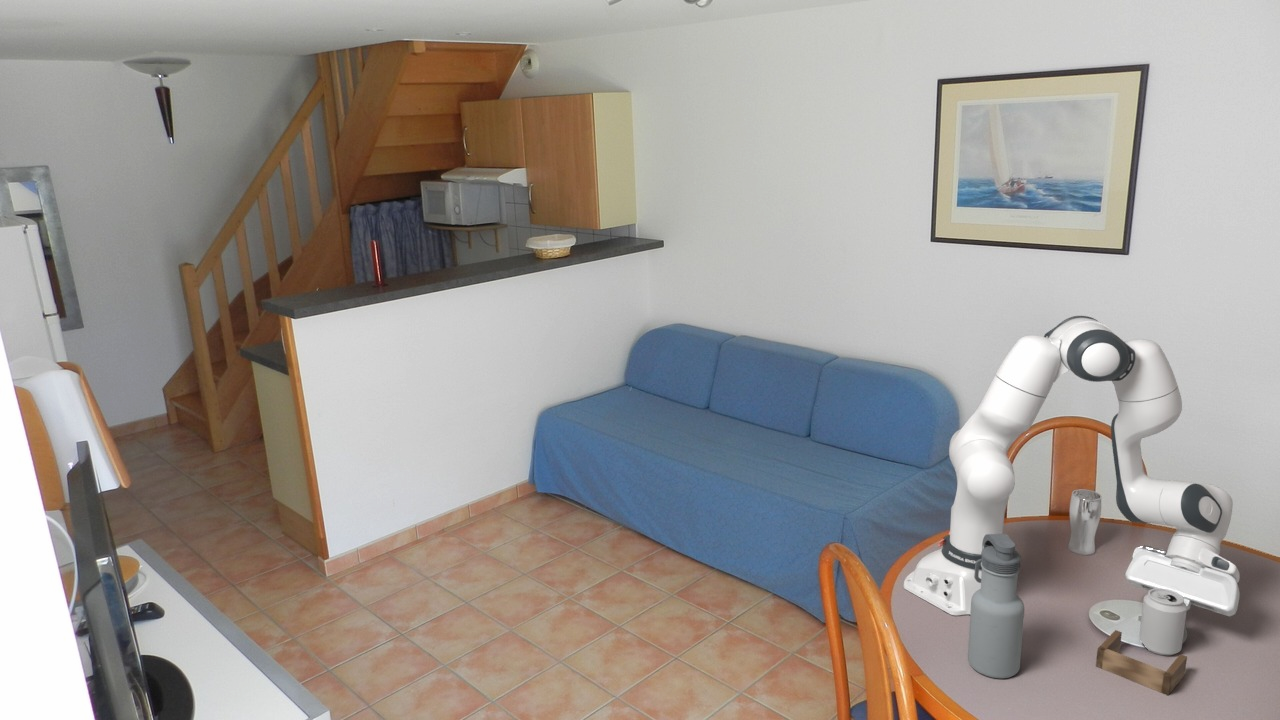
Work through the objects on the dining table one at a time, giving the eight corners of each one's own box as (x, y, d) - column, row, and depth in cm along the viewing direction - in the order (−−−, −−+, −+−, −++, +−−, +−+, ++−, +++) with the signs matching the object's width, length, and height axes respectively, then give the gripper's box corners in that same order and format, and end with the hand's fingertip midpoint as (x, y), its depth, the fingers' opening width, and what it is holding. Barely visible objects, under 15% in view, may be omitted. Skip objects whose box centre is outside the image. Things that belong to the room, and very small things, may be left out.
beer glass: (1098, 546, 216) (1103, 492, 212) (1095, 558, 211) (1101, 502, 207) (1067, 540, 220) (1072, 486, 216) (1064, 552, 214) (1069, 497, 210)
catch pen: (1095, 666, 170) (1097, 648, 169) (1113, 647, 176) (1115, 630, 175) (1168, 695, 161) (1170, 677, 160) (1184, 674, 167) (1187, 656, 166)
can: (1186, 659, 171) (1193, 606, 168) (1144, 655, 173) (1150, 603, 170) (1173, 638, 178) (1180, 587, 175) (1133, 634, 180) (1139, 583, 177)
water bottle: (960, 650, 178) (967, 527, 170) (1007, 649, 177) (1016, 526, 170) (977, 681, 168) (985, 552, 160) (1027, 679, 167) (1038, 550, 160)
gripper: (1134, 536, 186) (1112, 594, 182) (1245, 568, 171) (1224, 632, 167) (1139, 548, 190) (1118, 604, 186) (1248, 580, 175) (1228, 642, 171)
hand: (1169, 617), depth 177 cm, fingers closed, pressing on can
